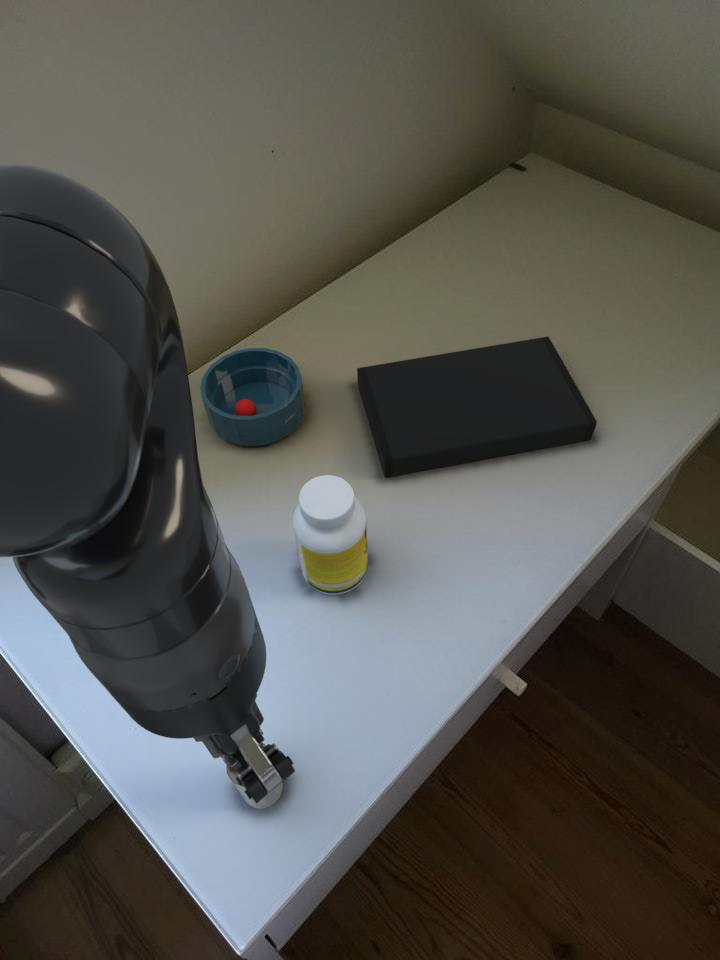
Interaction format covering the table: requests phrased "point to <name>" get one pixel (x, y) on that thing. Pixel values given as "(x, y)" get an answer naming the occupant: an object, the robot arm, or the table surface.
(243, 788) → the holder
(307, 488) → the pill bottle
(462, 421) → the external hard drive
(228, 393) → the bowl
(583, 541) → the table surface
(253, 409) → the ball
